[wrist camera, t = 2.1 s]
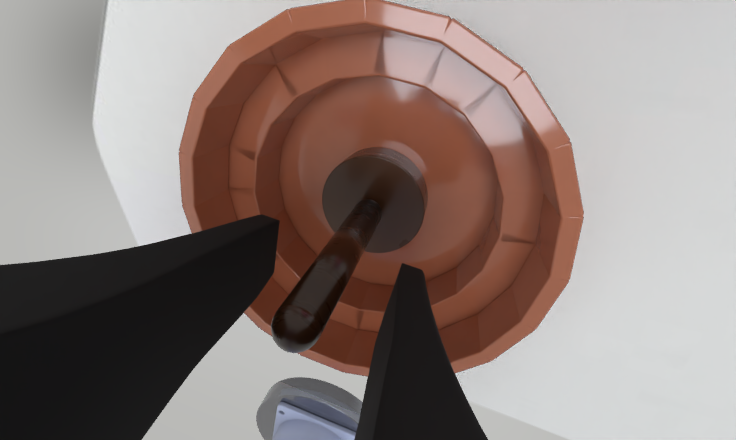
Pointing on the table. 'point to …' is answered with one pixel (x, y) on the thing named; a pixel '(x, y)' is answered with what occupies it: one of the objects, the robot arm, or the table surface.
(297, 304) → the disc with handle
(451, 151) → the bowl
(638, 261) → the table surface
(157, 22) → the table surface
